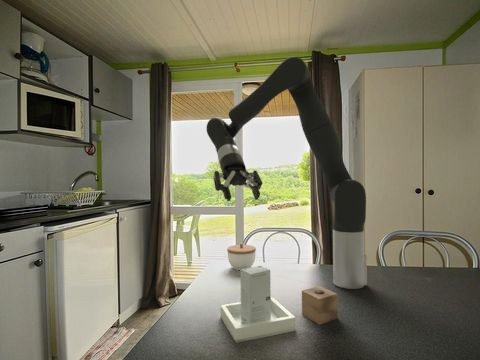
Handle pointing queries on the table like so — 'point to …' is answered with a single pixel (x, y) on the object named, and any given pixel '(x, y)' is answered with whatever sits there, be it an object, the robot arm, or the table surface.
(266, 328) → the tray
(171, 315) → the table surface
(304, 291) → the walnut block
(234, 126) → the robot arm
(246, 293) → the skincare box
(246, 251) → the lidded jar
